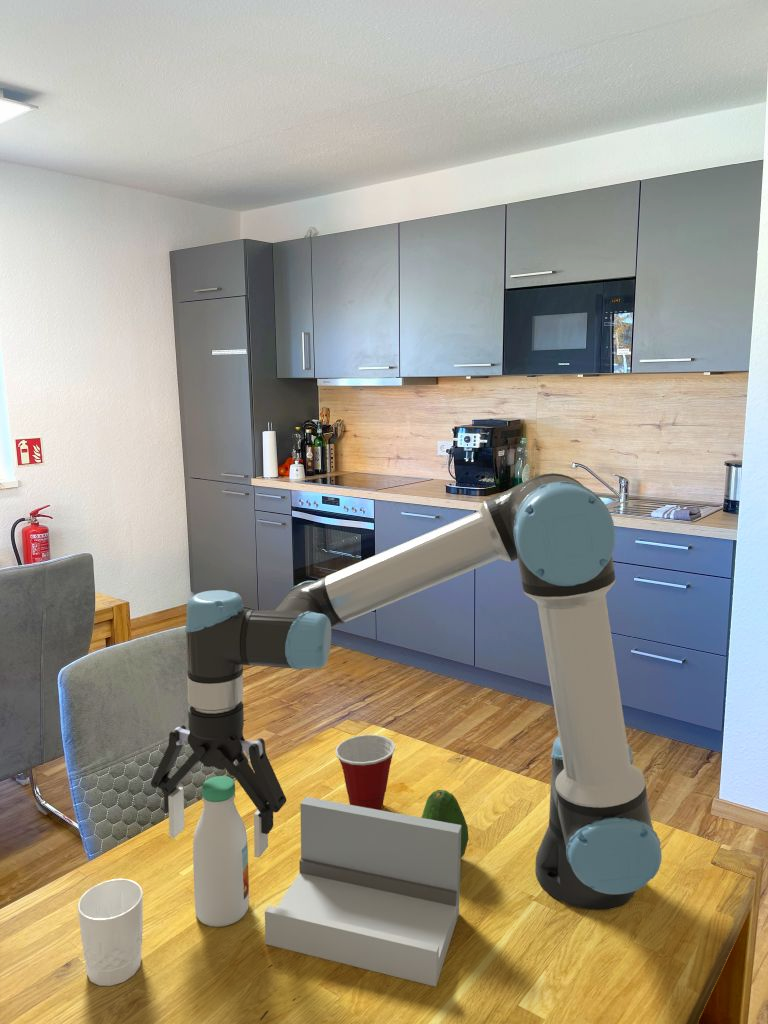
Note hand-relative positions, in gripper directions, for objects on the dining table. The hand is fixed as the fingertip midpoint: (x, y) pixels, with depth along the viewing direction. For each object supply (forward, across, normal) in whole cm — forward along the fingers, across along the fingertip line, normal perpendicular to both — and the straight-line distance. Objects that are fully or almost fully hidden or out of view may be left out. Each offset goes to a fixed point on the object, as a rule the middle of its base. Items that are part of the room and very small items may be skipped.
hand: (218, 842), depth 108 cm
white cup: (+11, +8, +14) cm, 19 cm away
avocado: (+11, -28, -21) cm, 37 cm away
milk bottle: (+11, 0, 0) cm, 11 cm away
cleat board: (+11, -21, -3) cm, 24 cm away
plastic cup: (+11, -11, -32) cm, 36 cm away
